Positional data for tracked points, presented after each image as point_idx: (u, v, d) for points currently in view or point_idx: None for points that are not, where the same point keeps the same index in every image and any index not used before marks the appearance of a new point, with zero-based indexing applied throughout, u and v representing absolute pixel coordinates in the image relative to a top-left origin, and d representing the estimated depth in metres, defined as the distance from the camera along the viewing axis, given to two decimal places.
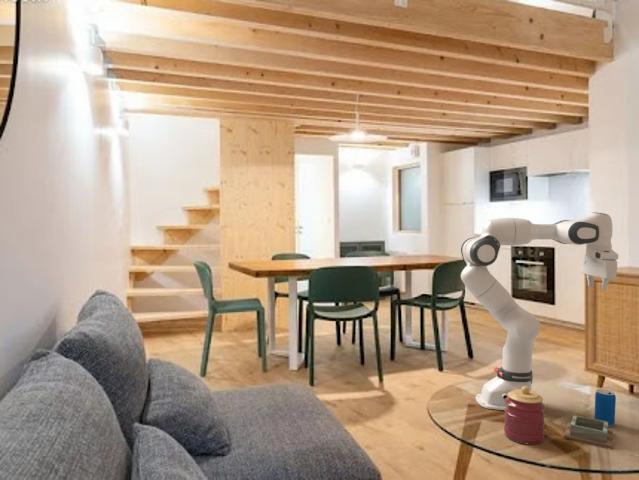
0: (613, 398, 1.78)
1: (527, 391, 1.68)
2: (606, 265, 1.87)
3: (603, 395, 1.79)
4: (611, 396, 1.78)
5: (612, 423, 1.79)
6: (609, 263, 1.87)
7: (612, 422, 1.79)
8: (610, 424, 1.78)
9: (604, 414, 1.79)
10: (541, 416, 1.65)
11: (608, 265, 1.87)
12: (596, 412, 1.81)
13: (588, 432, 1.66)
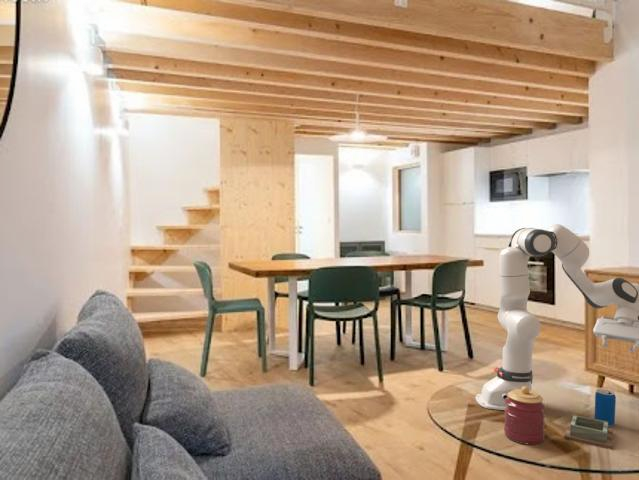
0: (613, 398, 1.78)
1: (527, 391, 1.68)
2: None
3: (603, 395, 1.79)
4: (611, 396, 1.78)
5: (612, 423, 1.79)
6: None
7: (612, 422, 1.79)
8: (610, 424, 1.78)
9: (604, 414, 1.79)
10: (541, 416, 1.65)
11: None
12: (596, 412, 1.81)
13: (588, 432, 1.66)
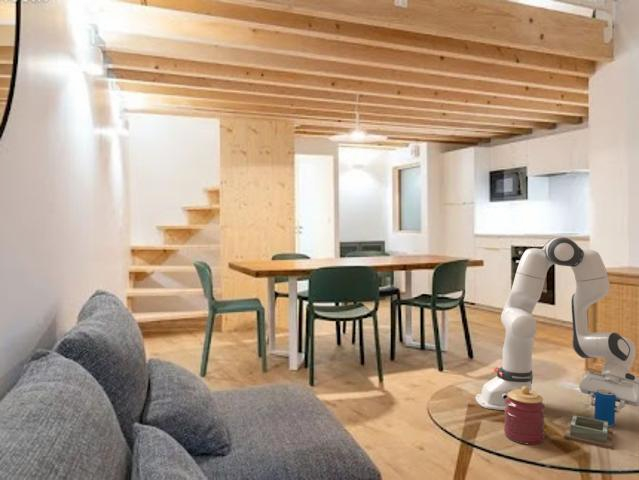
0: (613, 398, 1.78)
1: (527, 391, 1.68)
2: None
3: (603, 395, 1.79)
4: (611, 396, 1.78)
5: (612, 423, 1.79)
6: None
7: (612, 422, 1.79)
8: (610, 424, 1.78)
9: (604, 414, 1.79)
10: (541, 416, 1.65)
11: None
12: (596, 412, 1.81)
13: (588, 432, 1.66)
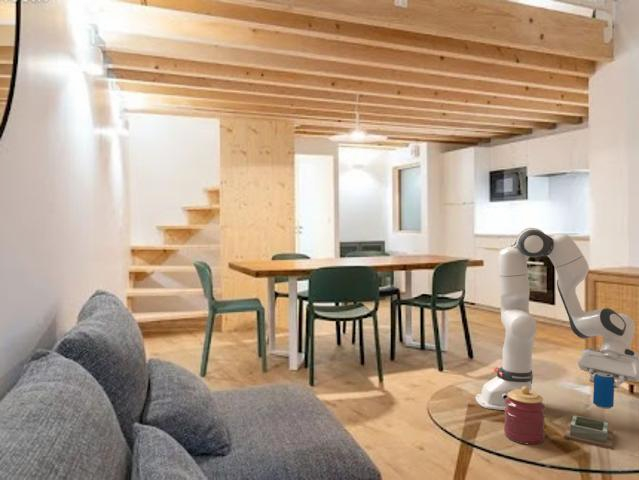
0: (612, 380, 1.77)
1: (527, 391, 1.68)
2: None
3: (602, 377, 1.78)
4: (610, 378, 1.77)
5: (611, 405, 1.77)
6: None
7: (611, 404, 1.77)
8: (609, 406, 1.77)
9: (602, 396, 1.78)
10: (541, 416, 1.65)
11: None
12: (595, 394, 1.80)
13: (588, 432, 1.66)
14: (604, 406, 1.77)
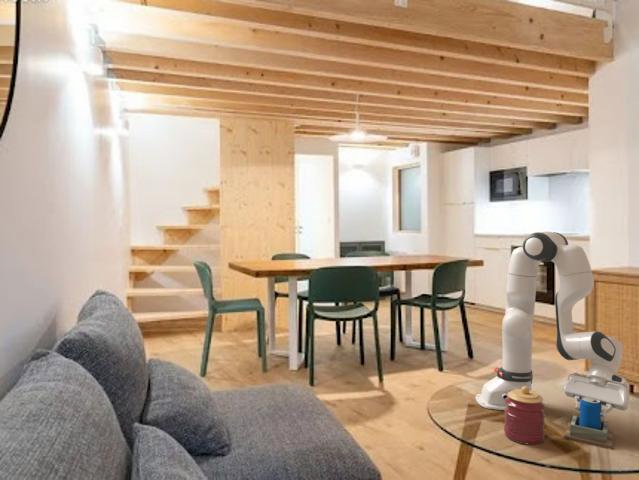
0: (598, 406, 1.68)
1: (527, 391, 1.68)
2: (627, 392, 1.67)
3: (588, 403, 1.68)
4: (596, 404, 1.68)
5: None
6: None
7: None
8: None
9: (588, 423, 1.68)
10: (541, 416, 1.65)
11: (627, 393, 1.67)
12: (581, 421, 1.71)
13: (588, 432, 1.66)
14: None
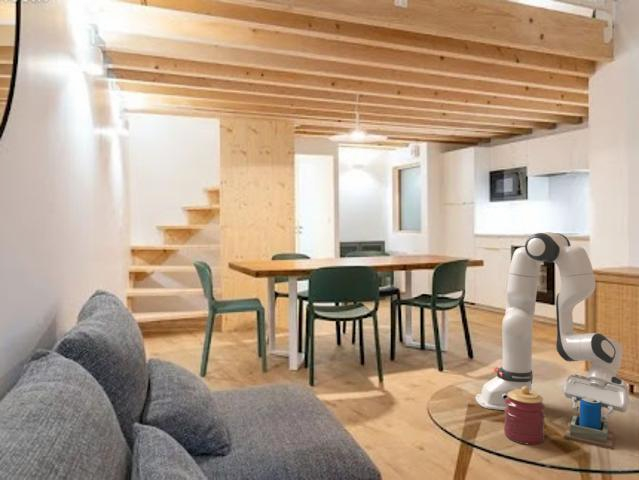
0: (598, 406, 1.68)
1: (527, 391, 1.68)
2: (626, 394, 1.67)
3: (588, 403, 1.68)
4: (596, 404, 1.68)
5: None
6: (627, 394, 1.68)
7: None
8: None
9: (588, 423, 1.68)
10: (541, 416, 1.65)
11: (627, 395, 1.67)
12: (581, 421, 1.71)
13: (588, 432, 1.66)
14: None
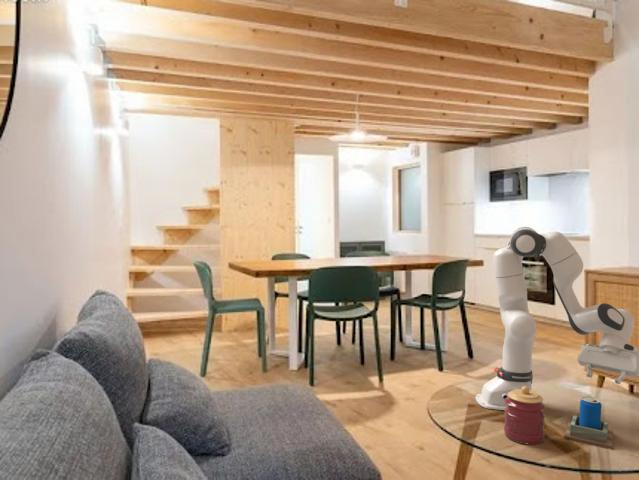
0: (598, 406, 1.68)
1: (527, 391, 1.68)
2: (638, 359, 1.75)
3: (588, 403, 1.68)
4: (596, 404, 1.68)
5: None
6: None
7: None
8: None
9: (588, 423, 1.68)
10: (541, 416, 1.65)
11: None
12: (581, 421, 1.71)
13: (588, 432, 1.66)
14: None
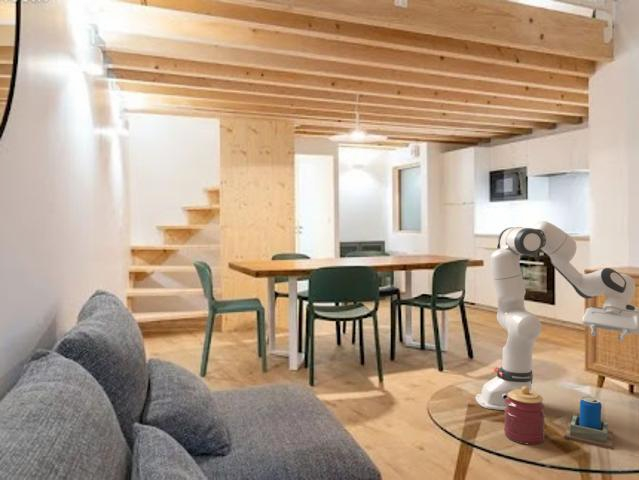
0: (598, 406, 1.68)
1: (527, 391, 1.68)
2: None
3: (588, 403, 1.68)
4: (596, 404, 1.68)
5: None
6: None
7: None
8: None
9: (588, 423, 1.68)
10: (541, 416, 1.65)
11: None
12: (581, 421, 1.71)
13: (588, 432, 1.66)
14: None
